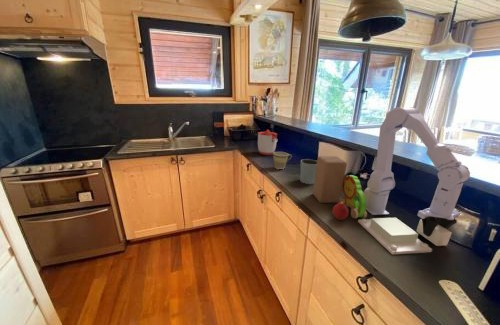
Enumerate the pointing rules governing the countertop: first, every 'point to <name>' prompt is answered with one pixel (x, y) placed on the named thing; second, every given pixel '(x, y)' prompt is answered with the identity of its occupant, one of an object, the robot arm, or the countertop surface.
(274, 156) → the ceramic cup
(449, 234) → the cream brick
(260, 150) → the citrus juicer
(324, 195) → the block
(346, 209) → the onion
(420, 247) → the white studded slab
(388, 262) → the countertop surface
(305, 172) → the grey cylindrical container
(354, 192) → the toy lion
